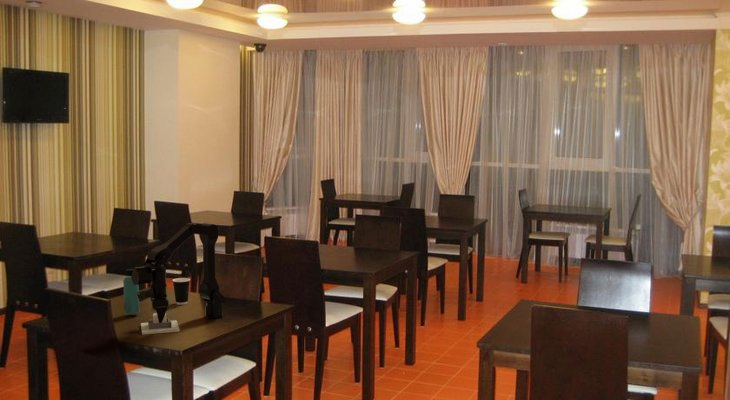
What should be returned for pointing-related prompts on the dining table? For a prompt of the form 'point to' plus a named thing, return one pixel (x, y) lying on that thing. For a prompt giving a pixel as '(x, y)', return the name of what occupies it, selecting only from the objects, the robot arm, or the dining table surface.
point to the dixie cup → (181, 290)
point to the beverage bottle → (130, 295)
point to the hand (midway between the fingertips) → (159, 319)
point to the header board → (159, 327)
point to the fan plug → (155, 318)
